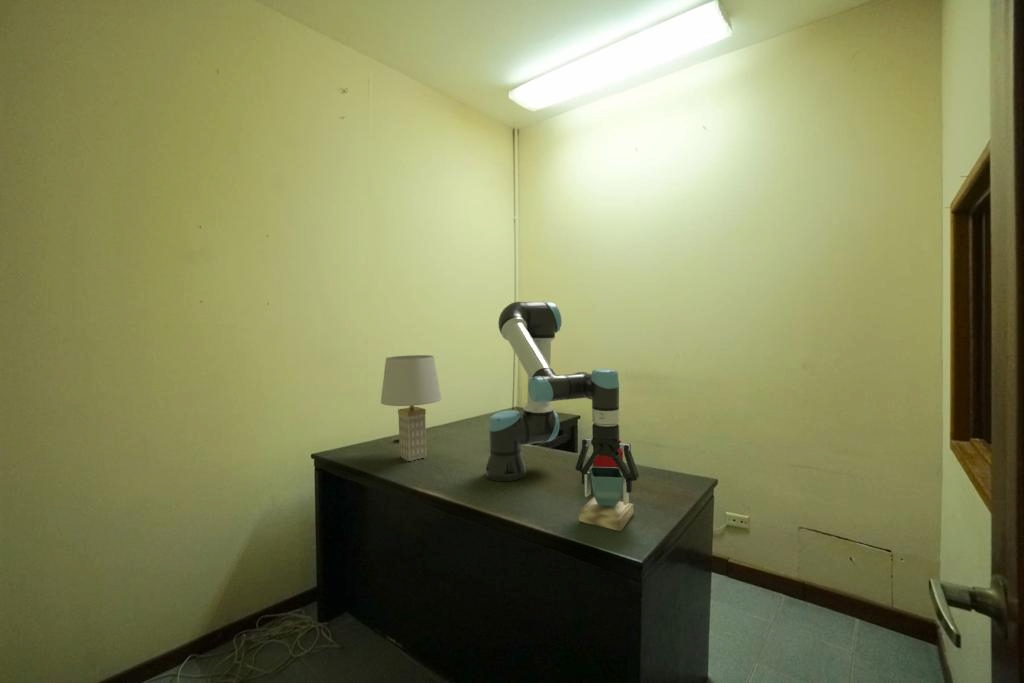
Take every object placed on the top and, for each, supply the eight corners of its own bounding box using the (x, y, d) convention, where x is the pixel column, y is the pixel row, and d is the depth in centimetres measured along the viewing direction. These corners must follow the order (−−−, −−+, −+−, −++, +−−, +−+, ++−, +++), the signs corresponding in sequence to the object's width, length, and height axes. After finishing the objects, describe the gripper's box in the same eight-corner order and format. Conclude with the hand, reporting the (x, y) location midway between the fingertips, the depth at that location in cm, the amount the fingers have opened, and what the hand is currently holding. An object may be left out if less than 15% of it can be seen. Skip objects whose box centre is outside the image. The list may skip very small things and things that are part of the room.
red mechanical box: (623, 489, 145) (622, 430, 144) (592, 487, 147) (592, 429, 146) (621, 473, 160) (620, 420, 160) (593, 471, 162) (592, 419, 162)
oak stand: (579, 521, 122) (579, 509, 122) (594, 505, 132) (594, 495, 132) (620, 531, 116) (620, 519, 115) (633, 514, 126) (633, 502, 126)
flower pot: (620, 496, 128) (619, 466, 127) (624, 509, 119) (624, 477, 118) (590, 496, 129) (589, 466, 128) (592, 508, 120) (591, 476, 119)
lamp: (372, 458, 185) (369, 357, 183) (423, 446, 202) (420, 354, 200) (400, 472, 166) (397, 360, 165) (454, 457, 183) (451, 356, 182)
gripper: (563, 421, 126) (564, 495, 127) (643, 430, 113) (643, 512, 114) (573, 416, 132) (574, 487, 133) (650, 425, 120) (650, 502, 121)
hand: (606, 499), depth 124 cm, fingers closed on flower pot, 11 cm apart
